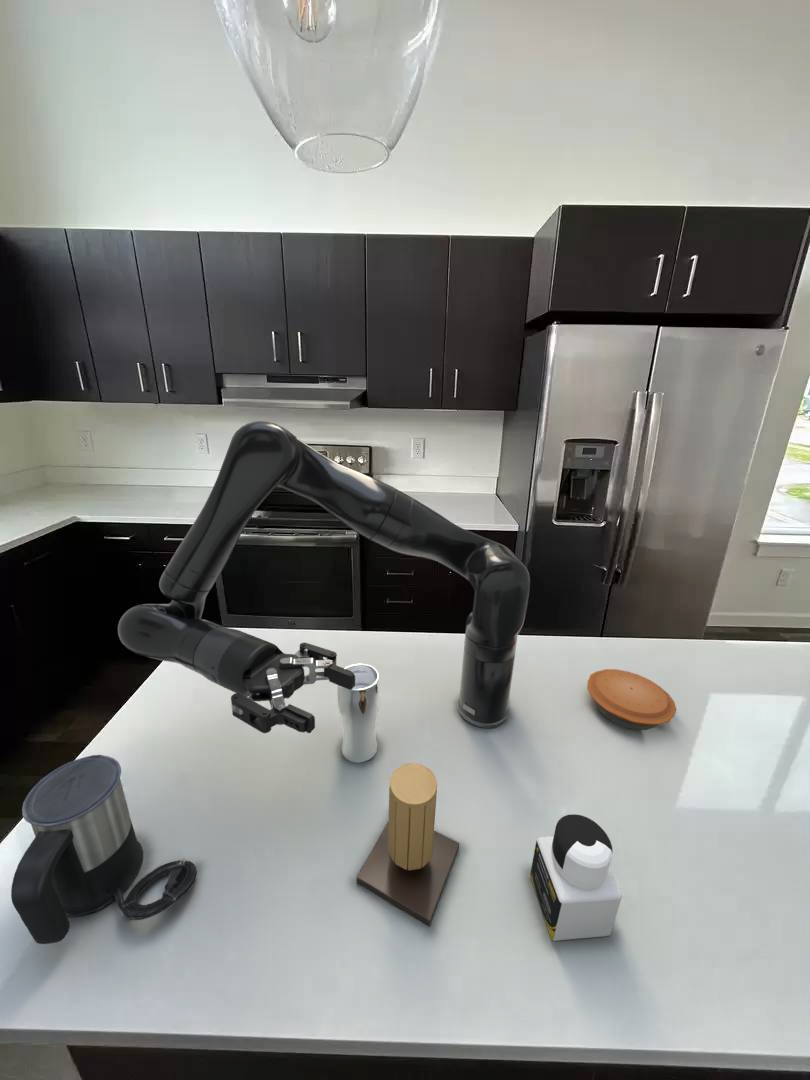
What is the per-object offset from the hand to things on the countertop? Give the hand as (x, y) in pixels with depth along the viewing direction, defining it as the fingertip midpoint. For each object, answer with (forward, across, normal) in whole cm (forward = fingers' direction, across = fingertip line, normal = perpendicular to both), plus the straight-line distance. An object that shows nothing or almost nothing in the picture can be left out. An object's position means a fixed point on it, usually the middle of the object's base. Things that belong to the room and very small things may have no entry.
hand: (334, 702), depth 52 cm
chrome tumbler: (-4, +13, +22) cm, 26 cm away
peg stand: (+12, 0, +22) cm, 24 cm away
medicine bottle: (+31, +5, +21) cm, 38 cm away
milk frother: (-18, -18, +23) cm, 34 cm away
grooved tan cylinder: (+12, 0, +18) cm, 21 cm away
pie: (+37, +46, +20) cm, 62 cm away
